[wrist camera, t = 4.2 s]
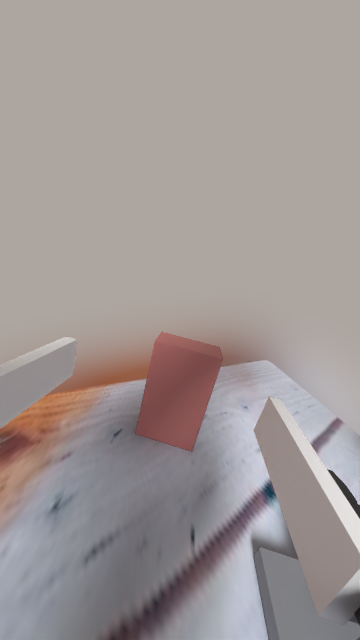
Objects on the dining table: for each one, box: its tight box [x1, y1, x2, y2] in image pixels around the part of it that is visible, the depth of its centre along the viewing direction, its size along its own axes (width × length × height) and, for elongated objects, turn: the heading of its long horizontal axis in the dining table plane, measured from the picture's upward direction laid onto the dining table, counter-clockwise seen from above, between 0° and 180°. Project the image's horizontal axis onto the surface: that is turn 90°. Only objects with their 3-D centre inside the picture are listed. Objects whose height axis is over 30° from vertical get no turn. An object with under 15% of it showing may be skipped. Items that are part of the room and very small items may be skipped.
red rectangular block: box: [135, 332, 223, 451], centre depth 23 cm, size 8×4×14 cm, turn 82°
